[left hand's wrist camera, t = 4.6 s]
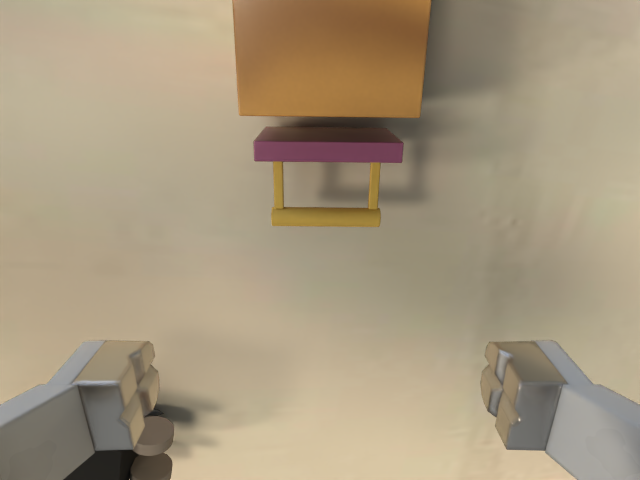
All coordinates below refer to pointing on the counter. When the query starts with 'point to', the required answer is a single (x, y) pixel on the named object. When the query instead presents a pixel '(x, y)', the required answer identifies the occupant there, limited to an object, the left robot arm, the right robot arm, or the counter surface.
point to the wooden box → (331, 57)
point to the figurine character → (133, 456)
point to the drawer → (327, 148)
